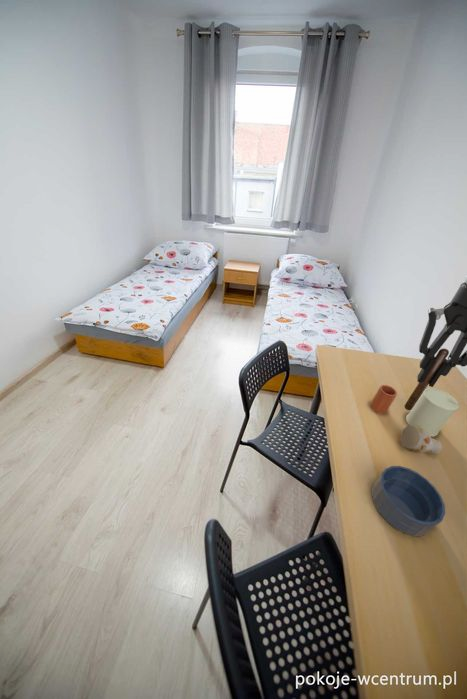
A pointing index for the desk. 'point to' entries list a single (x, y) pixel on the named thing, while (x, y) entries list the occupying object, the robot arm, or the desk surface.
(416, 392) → the stick
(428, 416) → the can
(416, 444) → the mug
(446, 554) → the desk surface
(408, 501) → the bowl
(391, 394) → the holder
